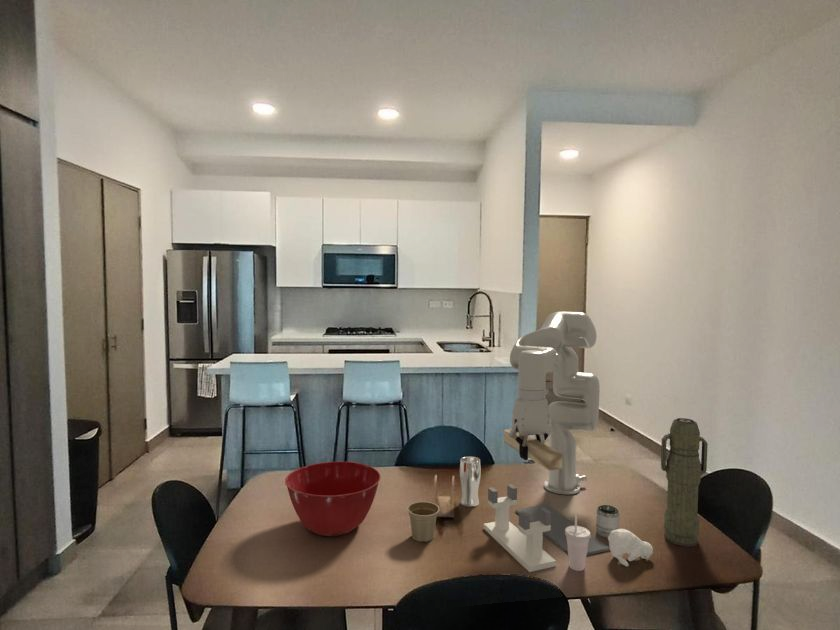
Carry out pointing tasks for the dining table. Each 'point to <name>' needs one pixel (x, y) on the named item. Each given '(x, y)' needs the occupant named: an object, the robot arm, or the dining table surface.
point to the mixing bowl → (332, 495)
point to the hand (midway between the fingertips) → (531, 456)
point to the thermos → (683, 481)
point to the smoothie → (577, 545)
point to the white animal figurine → (628, 546)
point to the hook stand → (519, 531)
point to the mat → (562, 529)
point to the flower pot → (423, 520)
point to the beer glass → (470, 480)
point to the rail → (537, 451)
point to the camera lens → (607, 520)
